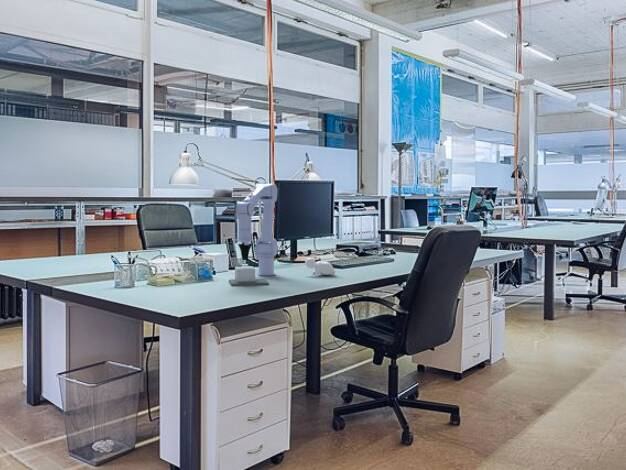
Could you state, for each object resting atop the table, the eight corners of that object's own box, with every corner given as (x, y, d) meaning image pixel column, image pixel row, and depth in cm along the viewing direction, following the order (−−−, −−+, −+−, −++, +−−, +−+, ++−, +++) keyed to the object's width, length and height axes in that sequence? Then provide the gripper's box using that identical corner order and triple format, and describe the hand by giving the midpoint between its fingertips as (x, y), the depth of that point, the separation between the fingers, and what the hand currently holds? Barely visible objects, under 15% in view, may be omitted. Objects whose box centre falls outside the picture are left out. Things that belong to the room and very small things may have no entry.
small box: (234, 278, 264) (236, 282, 253) (234, 266, 263) (236, 269, 253) (252, 278, 265) (255, 281, 255) (252, 266, 265) (255, 269, 255)
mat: (228, 281, 261) (228, 279, 261) (264, 280, 265) (264, 278, 265) (231, 286, 250) (231, 283, 250) (268, 284, 253) (268, 282, 253)
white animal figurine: (328, 280, 288) (300, 269, 285) (334, 264, 288) (306, 253, 285) (331, 282, 280) (303, 271, 277) (338, 266, 280) (309, 255, 277)
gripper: (234, 228, 265) (234, 258, 266) (237, 230, 251) (237, 261, 252) (249, 228, 267) (249, 257, 268) (253, 230, 253) (254, 261, 254)
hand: (244, 259), depth 260 cm, fingers closed
